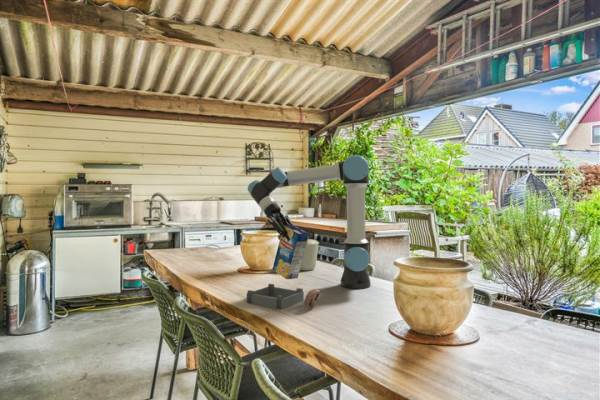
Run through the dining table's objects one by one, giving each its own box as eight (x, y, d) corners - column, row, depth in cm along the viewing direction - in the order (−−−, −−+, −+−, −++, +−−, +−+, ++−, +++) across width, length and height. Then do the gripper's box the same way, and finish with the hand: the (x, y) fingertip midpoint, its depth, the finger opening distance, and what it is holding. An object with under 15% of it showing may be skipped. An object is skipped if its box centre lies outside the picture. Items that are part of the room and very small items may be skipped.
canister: (319, 272, 243) (319, 236, 242) (289, 272, 243) (289, 236, 242) (318, 266, 261) (318, 233, 260) (290, 266, 261) (290, 233, 261)
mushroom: (307, 311, 163) (307, 291, 163) (300, 308, 169) (300, 288, 169) (323, 309, 167) (323, 289, 167) (316, 305, 172) (316, 286, 172)
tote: (303, 300, 180) (303, 288, 180) (282, 309, 167) (282, 296, 167) (269, 294, 191) (269, 283, 191) (246, 302, 177) (246, 290, 177)
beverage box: (286, 279, 185) (298, 233, 181) (272, 269, 193) (283, 225, 188) (297, 278, 190) (309, 233, 185) (283, 268, 197) (294, 225, 193)
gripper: (276, 212, 204) (304, 248, 195) (254, 213, 190) (282, 252, 181) (285, 201, 201) (313, 237, 192) (263, 202, 187) (292, 241, 178)
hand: (298, 245), depth 187 cm, fingers closed on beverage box, 4 cm apart
